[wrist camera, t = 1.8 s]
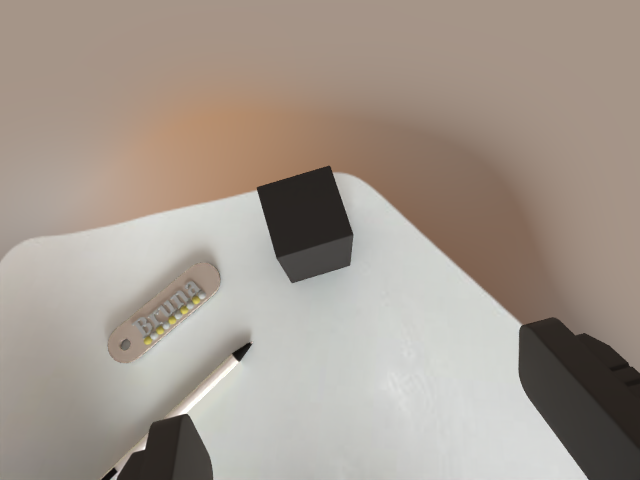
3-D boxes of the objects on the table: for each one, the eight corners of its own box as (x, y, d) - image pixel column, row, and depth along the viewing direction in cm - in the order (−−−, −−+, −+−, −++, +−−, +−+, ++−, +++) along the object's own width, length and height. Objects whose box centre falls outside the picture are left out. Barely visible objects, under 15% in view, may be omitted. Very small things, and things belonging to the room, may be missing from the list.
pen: (55, 522, 32) (45, 527, 31) (250, 337, 35) (246, 336, 34) (61, 533, 32) (51, 538, 31) (257, 346, 35) (254, 345, 34)
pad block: (332, 210, 38) (329, 164, 29) (350, 265, 36) (353, 235, 28) (275, 227, 37) (256, 187, 29) (291, 283, 36) (276, 258, 27)
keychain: (119, 371, 34) (98, 341, 35) (123, 371, 35) (102, 341, 35) (226, 281, 36) (203, 254, 36) (227, 282, 36) (205, 256, 37)
